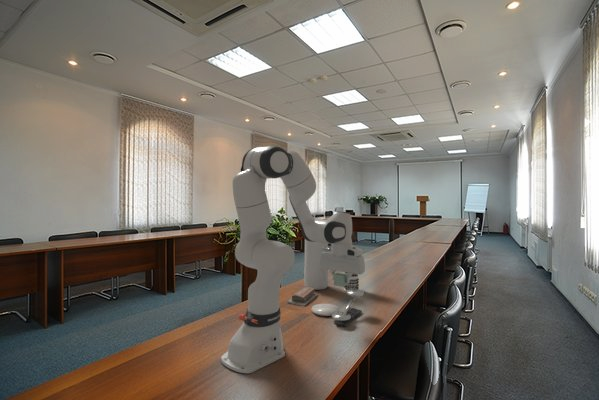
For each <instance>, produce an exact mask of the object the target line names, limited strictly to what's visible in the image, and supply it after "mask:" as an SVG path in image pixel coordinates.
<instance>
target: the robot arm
mask: <svg viewBox="0 0 599 400" xmlns="http://www.w3.org/2000/svg"><path fill="white" fill-rule="evenodd" d="M279 178H280V179H281V181H282V183H283V184H284V186H285V188H286V190H287V192H288V199H289V202H290V205H291V207H292V209H293V212H294V214H295V216H296V219H297V221H298V222H299V223H298V224H299V225H300V231H301V234H302V237H303V238H304V240H305V239H306V240H307V241H310V242H321V243H328V245H329V244H330V247H328V248H326V247H324V248H322V249H321V257H320V267H321V268H324V269H328V270H330V271H329V272H330V275H331V276H332V281H334V274H336V273H335V272H336V271H337V272H340V273H345V272H347V275H349V276H348V277H347V278H345V283H350V278H351V276H352V275H353V274H358V276H359V275H363V274H364V273H365V272H366V262H365V258H364V256H363V255H364V250H363V249H362V248H359V247H357V246H355V245H354V244H353V240H352V235H353V219H352V216H351V214H350V213H348V212H345V211H341V210H339V211H334V212H333V213H332V215H331V216H330V217H328V218H326V219H320V218H316V217H314V216H313V215H312V213H311V211H310V208H309V205H308V203H307V201H308V200H310V199H311V198H312V197H313V195H314V194H315V192H316V191H317V181H316V179H315V176H314V175H313V173H312V171H311V169H310V168H309V165H308V164H307V163H306V161H305V160H304V159H303V158H302V156H301V155H300V153H298V152H297V151H295V150H289V151H288V150H285V149H284V148H283V147H280V146H276V145H270V146H269V145H268V146H267V145H266V146H265V145H264V146H263V145H262V146H258V147H254V148H251V149H249V150H247V151H246V152H245V153H244V155H243V157H242V161H241V167H240V172H238V173H237V174H236V175H235V176H234V177H233V178H232V193H233V194H232V195H233V201H234V204H235V210H236V213H237V218H238V222H239V228H240V229H239V230H240V238H239V241H238V243H237V244H236V246H235V250H234V256H235V258H236V261H237V262H238V263H240V264H241V265H243V266H245V267H247V268H250V269H253V270H257V275H256V278H255V280H254V282H252V283H251V284H249V287H248V290H247V308H246V312H245V314H243V313H239V315H238V319H239V321H243V323H242V324H241V325H240V327H239V328H238V330H237V331H236V332H235V334H234V335H233V336H232V338H231V339H230V340H229V344H228V350H227V351H226V352H224V354H222V355H221V357H220V361H221V363H222V364H223V365H224V366H225V367H226V368H228V369H229V370H232V371H234V372H238V373H241V374H251V373H254V372H256V371H258V370H260V369H263V368H264V367H266V366H269V365H270V364H272V363H274V362H276V361H279V360H280V359H283V358H284V357H285V356H286V352H285V350H284V348H285V347H284V342H283V334H282V327H281V324H280V320H281V314H282V313H281V308H280V289H281V284H282V281H283V278H284V277H285V275H286V274H287V273H288V272H290V271H291V270H292V268H293V267H294V264H295V260H296V256H295V250H294V249H293V248H292V247H291V246H290V245H288V244H286V243H283V242H282V241H278V240H272V239H271V240H270V239H268V237H267V229H268V228H269V227H270V225H271V224H272V213H271V210H270V204H269V201H268V197H267V196H268V195H267V192H266V182H267V180H269V179H279ZM323 249H324V250H323Z"/></svg>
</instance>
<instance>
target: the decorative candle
mask: <svg viewBox="0 0 599 400" xmlns="http://www.w3.org/2000/svg"><path fill="white" fill-rule="evenodd" d="M344 273H346V274H347V272H344ZM348 276H349V275H348ZM359 280H360V279H359V274H353V275H352V276H351V278H350V283H348V285H346V286H344V287H343V288H344V289H343V290H344V292H346V291H347V290H349V289H359V290H360V288H359V287H360V285H359V282H360V281H359Z"/></svg>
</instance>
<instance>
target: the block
mask: <svg viewBox="0 0 599 400" xmlns="http://www.w3.org/2000/svg"><path fill="white" fill-rule="evenodd" d="M347 277H348V275H347V274H346V273H345V272H341V271H337V273H335V274H334V280H333V285H334V286H338V287H342V288H344V286H346V285H348V283H345V278H347Z"/></svg>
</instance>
